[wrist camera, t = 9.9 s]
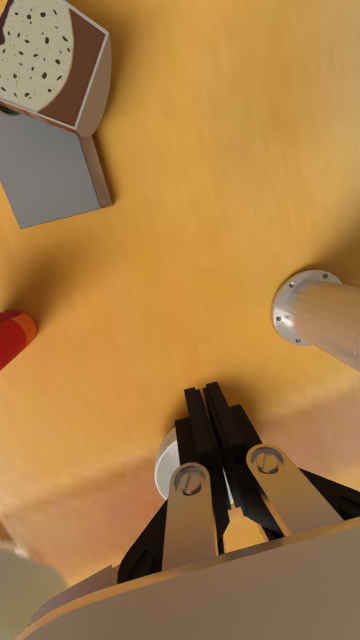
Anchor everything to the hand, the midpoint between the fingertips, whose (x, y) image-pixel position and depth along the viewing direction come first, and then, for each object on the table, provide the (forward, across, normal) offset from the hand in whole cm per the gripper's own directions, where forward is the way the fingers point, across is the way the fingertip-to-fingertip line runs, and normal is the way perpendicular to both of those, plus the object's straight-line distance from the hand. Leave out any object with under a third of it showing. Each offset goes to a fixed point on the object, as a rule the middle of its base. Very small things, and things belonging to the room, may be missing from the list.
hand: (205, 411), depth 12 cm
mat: (+27, +12, -24) cm, 38 cm away
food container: (+23, +3, -24) cm, 34 cm away
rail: (+27, +6, -24) cm, 36 cm away
